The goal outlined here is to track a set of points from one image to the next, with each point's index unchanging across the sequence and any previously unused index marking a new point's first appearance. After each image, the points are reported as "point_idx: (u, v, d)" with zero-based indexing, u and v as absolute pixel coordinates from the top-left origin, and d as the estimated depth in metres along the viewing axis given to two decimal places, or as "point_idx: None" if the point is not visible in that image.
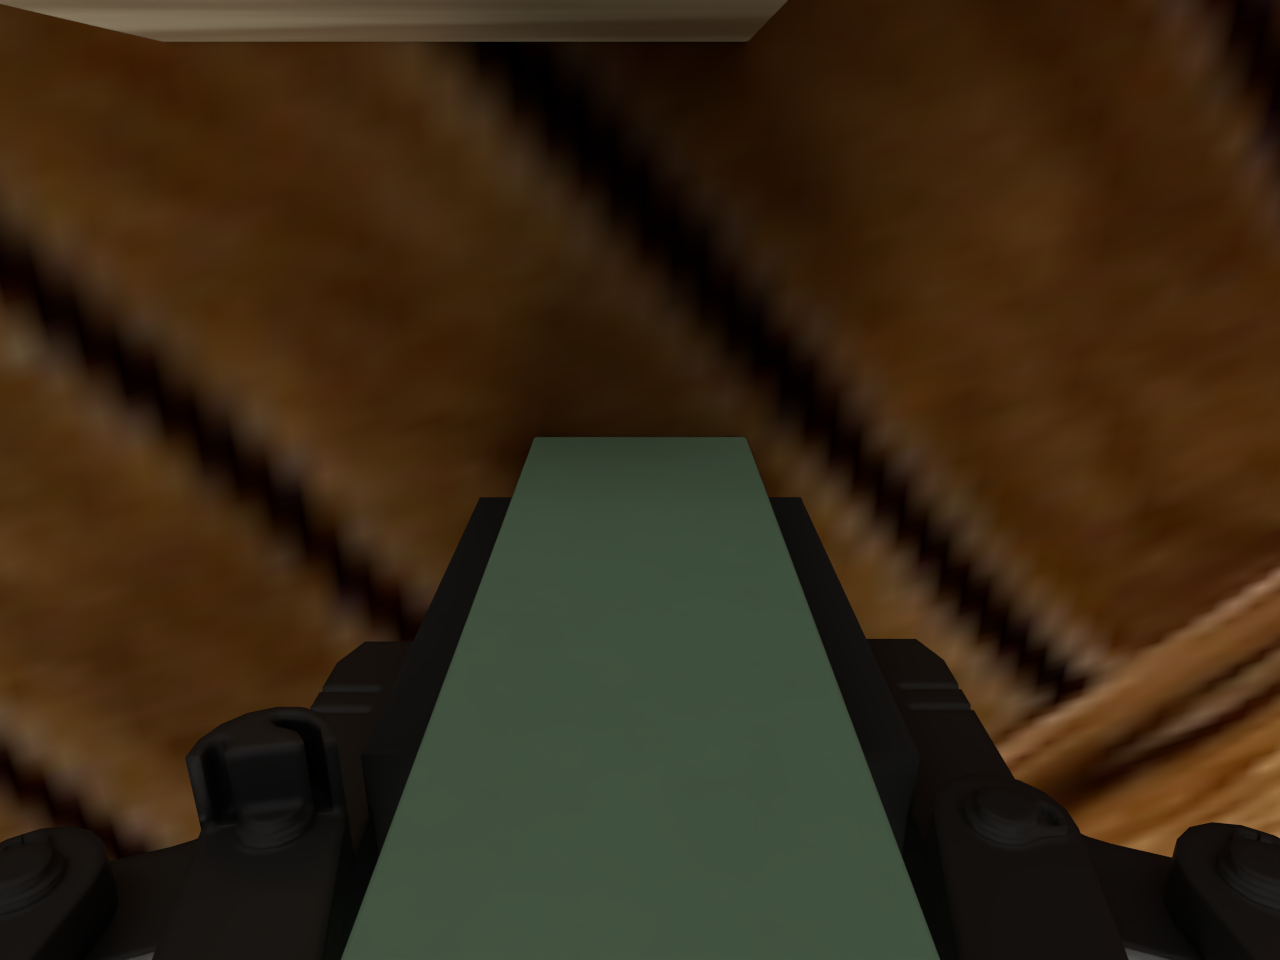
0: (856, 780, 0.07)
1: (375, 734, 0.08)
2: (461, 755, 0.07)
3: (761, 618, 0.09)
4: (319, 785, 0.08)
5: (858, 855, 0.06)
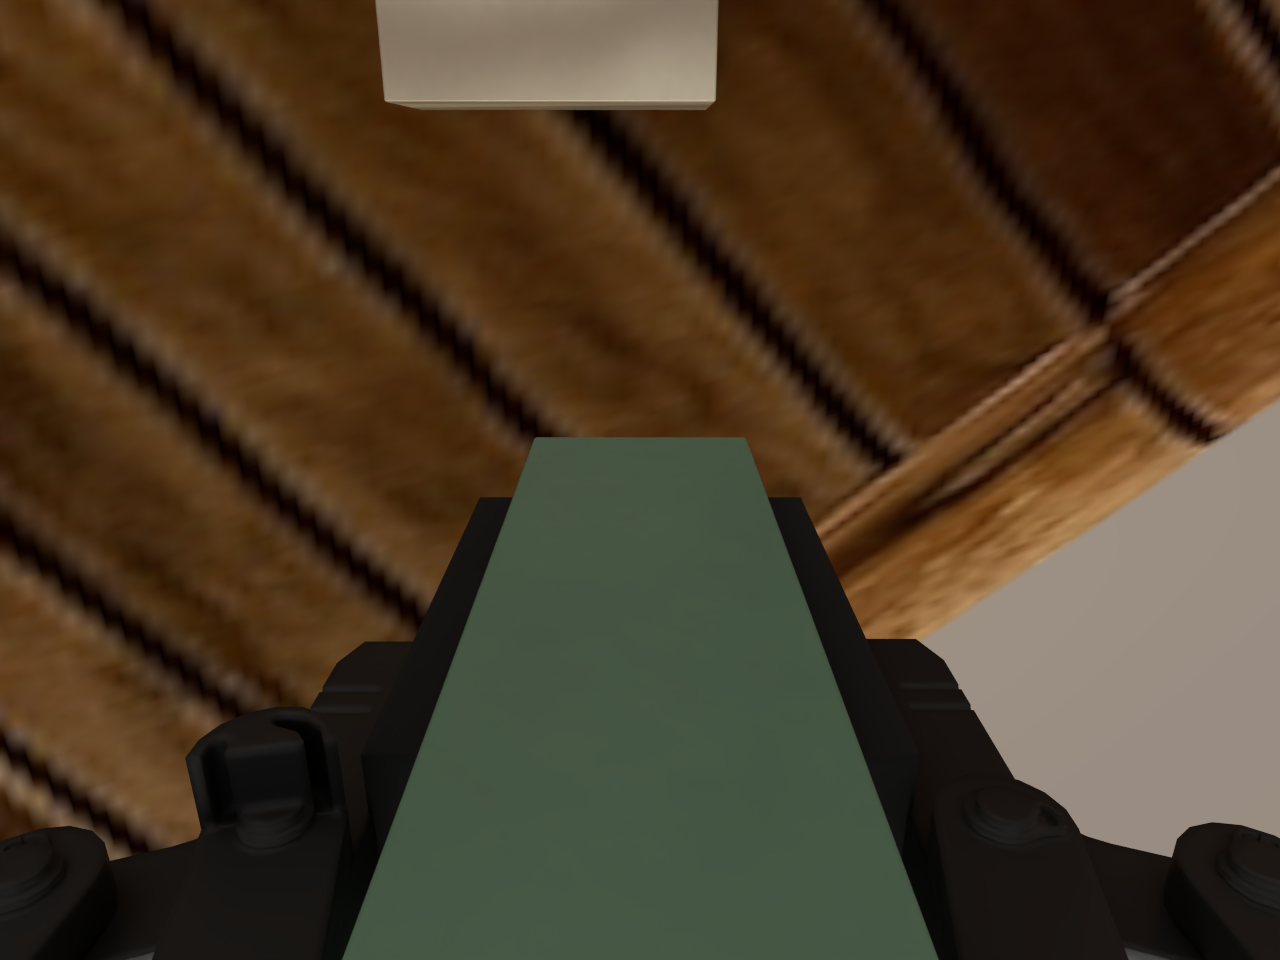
0: (855, 779, 0.07)
1: (375, 734, 0.08)
2: (462, 754, 0.07)
3: (760, 618, 0.09)
4: (318, 785, 0.08)
5: (857, 854, 0.06)
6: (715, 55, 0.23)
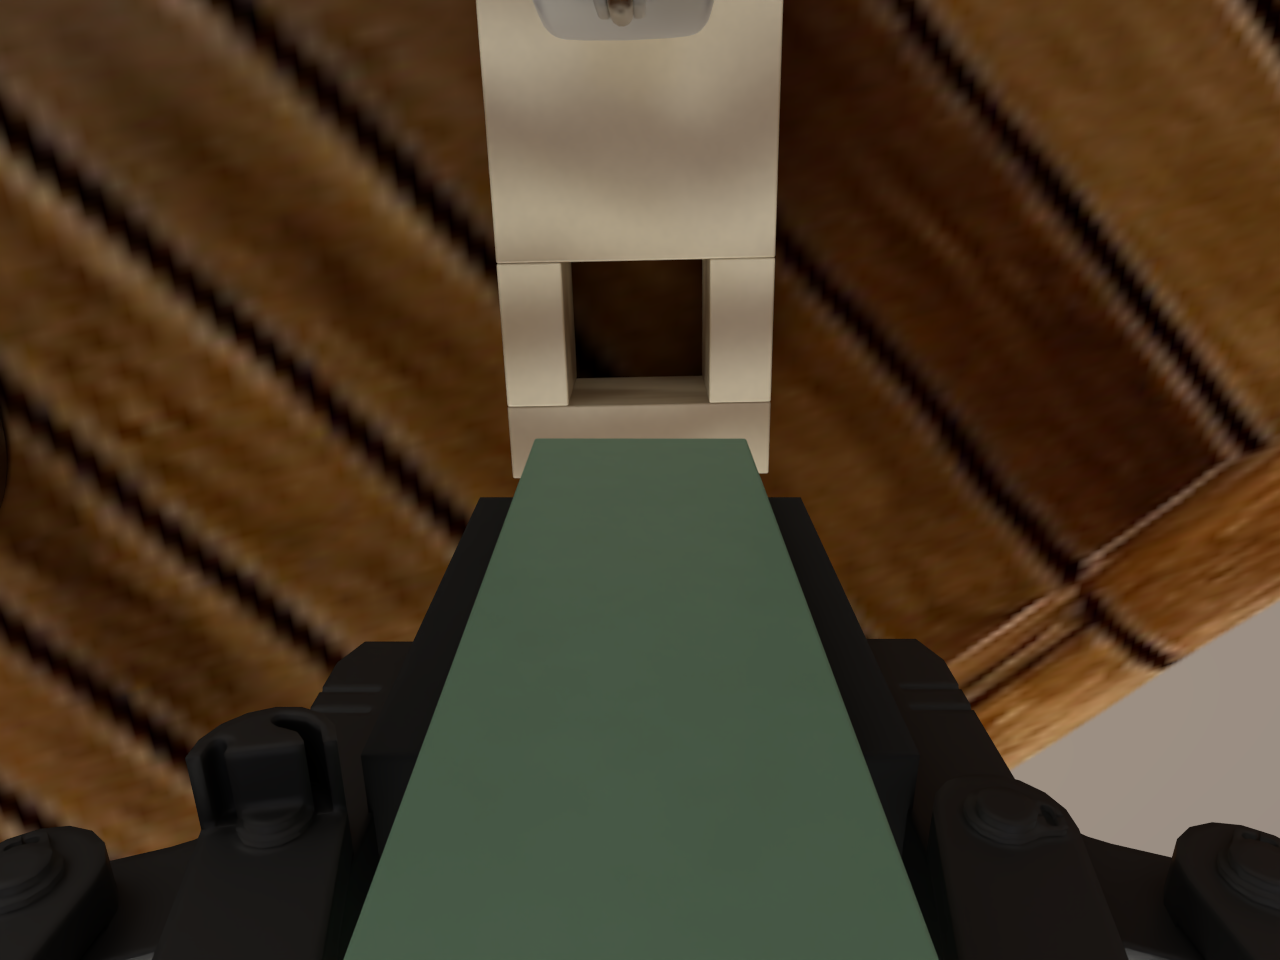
0: (856, 782, 0.07)
1: (375, 734, 0.08)
2: (462, 757, 0.07)
3: (761, 619, 0.09)
4: (319, 785, 0.08)
5: (858, 857, 0.06)
6: (768, 443, 0.30)
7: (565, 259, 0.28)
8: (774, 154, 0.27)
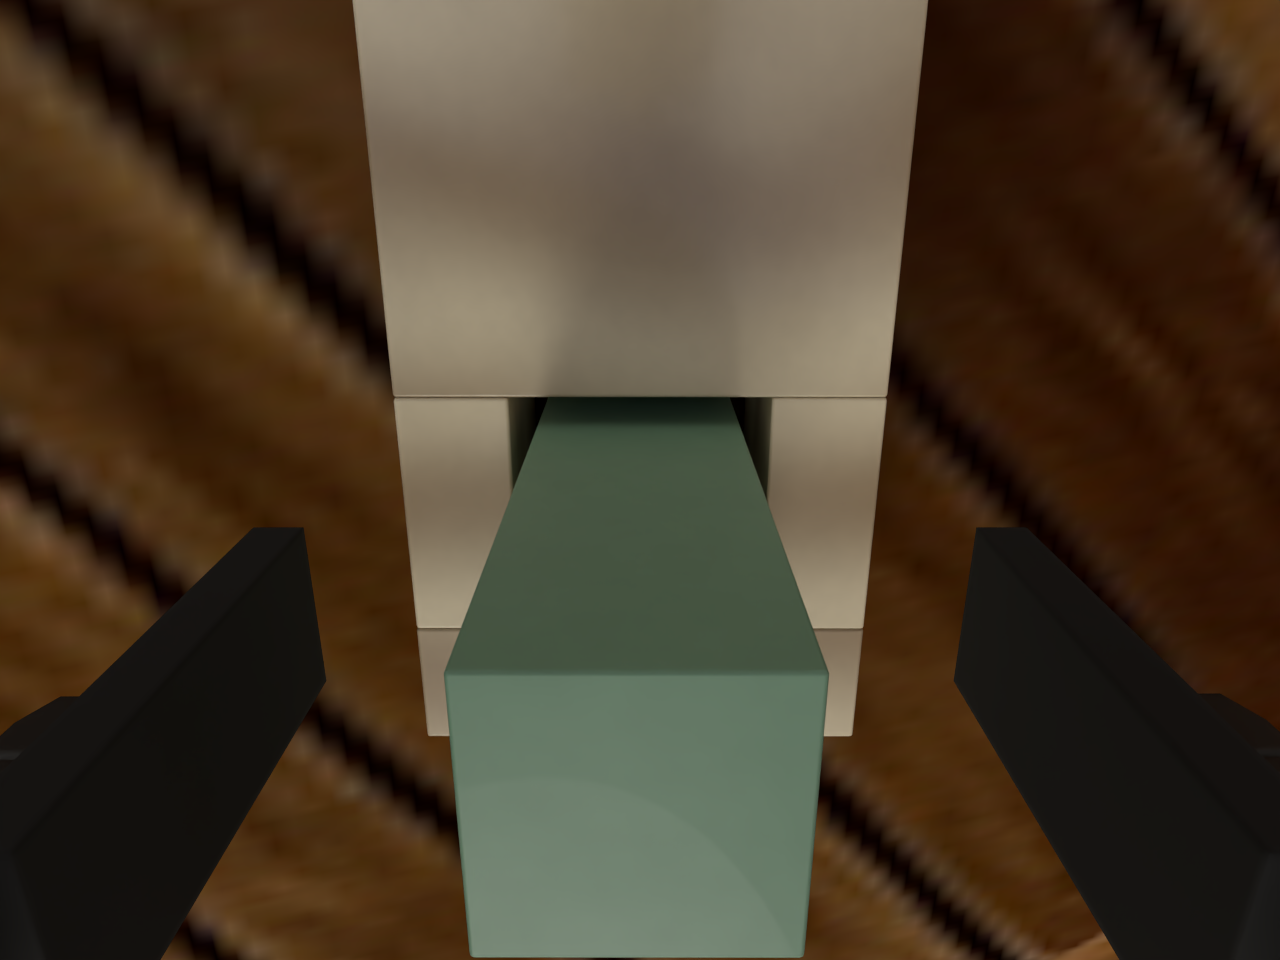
0: (772, 545, 0.11)
1: None
2: (524, 535, 0.12)
3: (722, 474, 0.14)
4: None
5: (767, 573, 0.10)
6: (855, 691, 0.18)
7: (515, 393, 0.16)
8: (899, 219, 0.15)
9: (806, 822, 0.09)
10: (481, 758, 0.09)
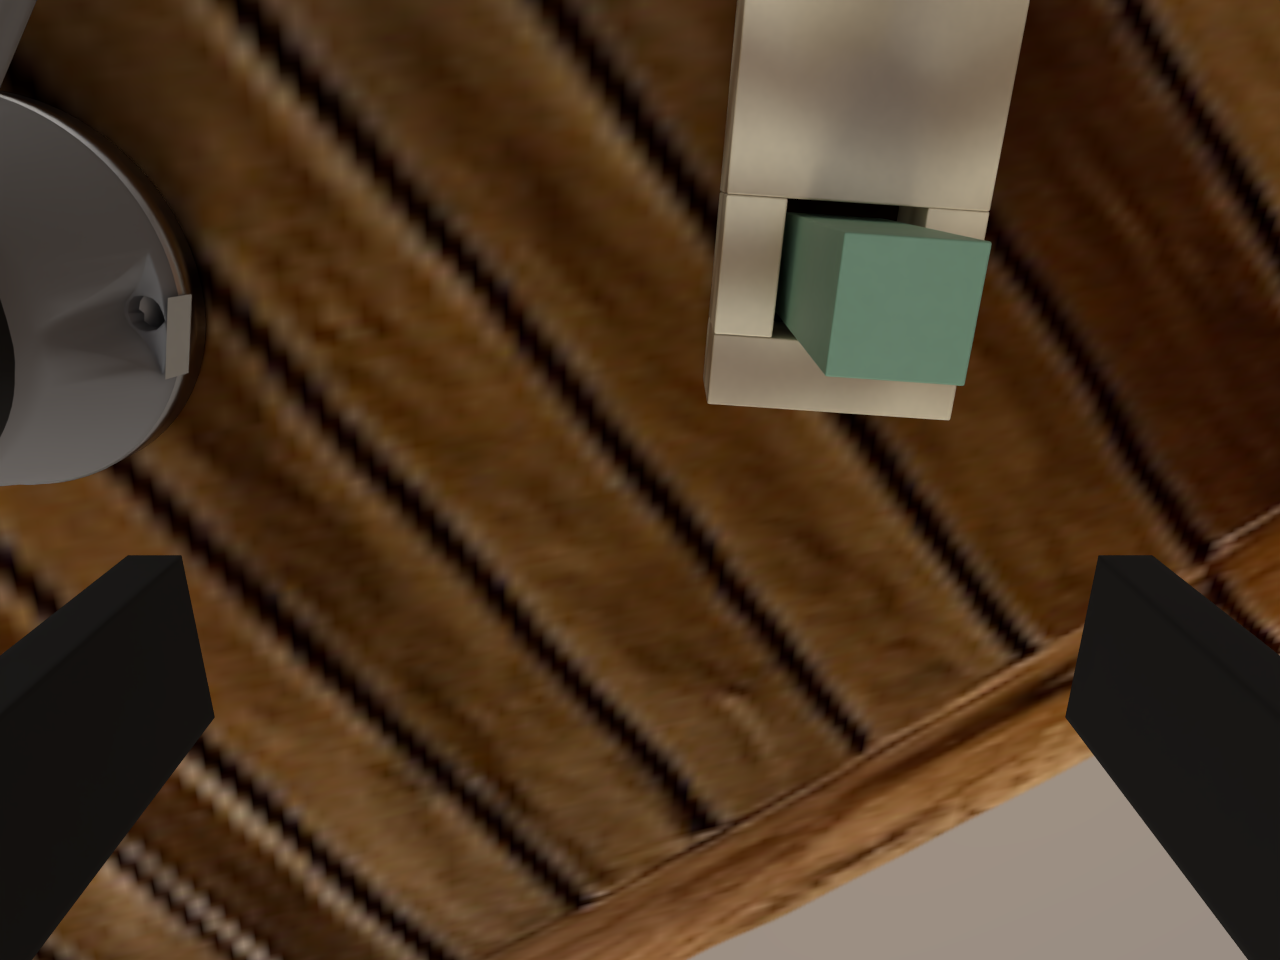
0: (951, 233, 0.25)
1: None
2: (837, 225, 0.25)
3: (912, 227, 0.28)
4: None
5: (954, 235, 0.24)
6: (954, 391, 0.32)
7: (792, 195, 0.30)
8: (1005, 113, 0.29)
9: (974, 313, 0.23)
10: (851, 273, 0.23)
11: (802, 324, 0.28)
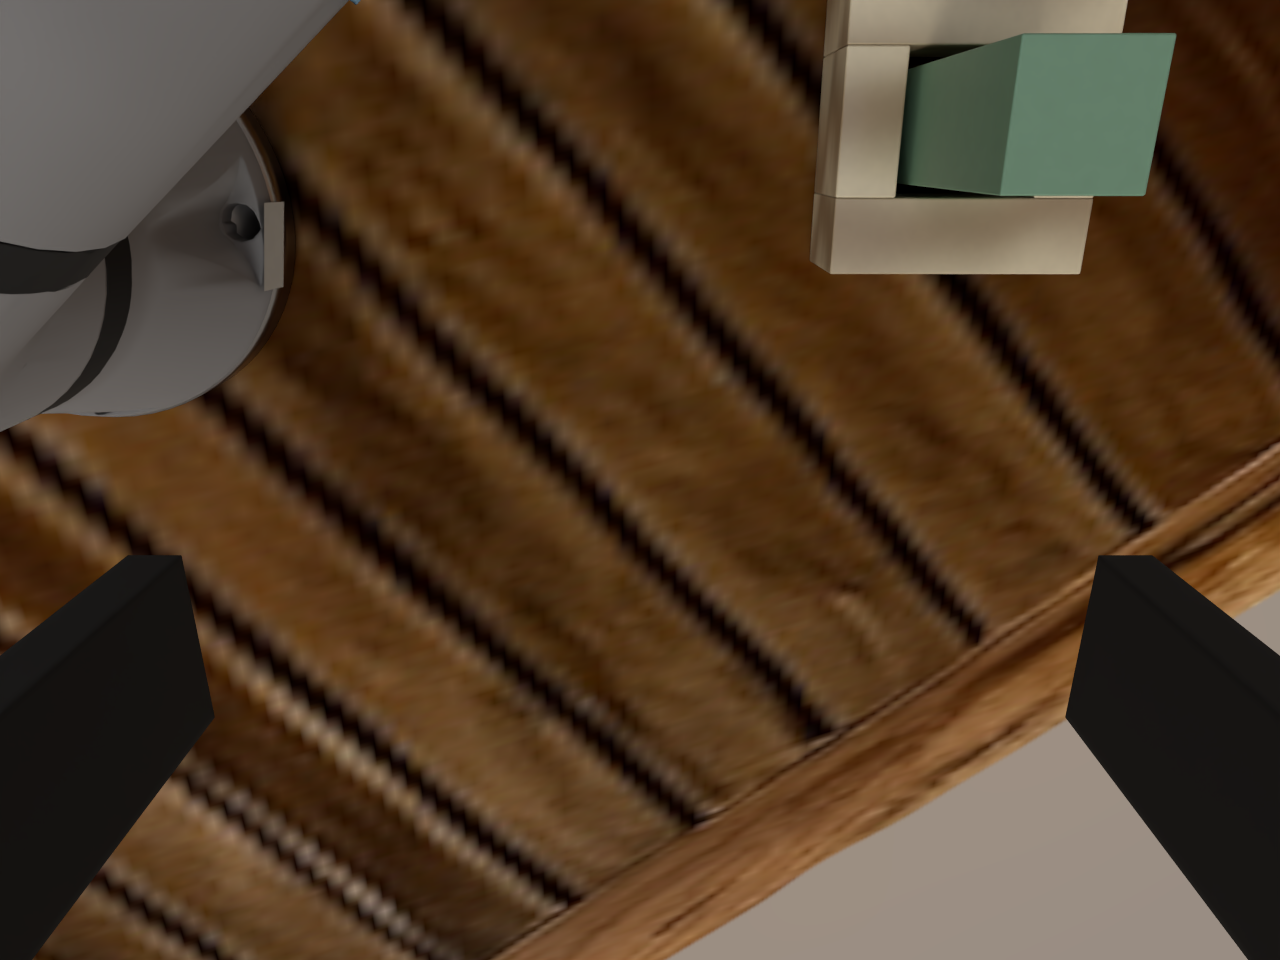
0: None
1: None
2: None
3: None
4: None
5: None
6: (1085, 241, 0.31)
7: (915, 41, 0.29)
8: None
9: (1157, 114, 0.22)
10: (1029, 78, 0.22)
11: (944, 166, 0.27)
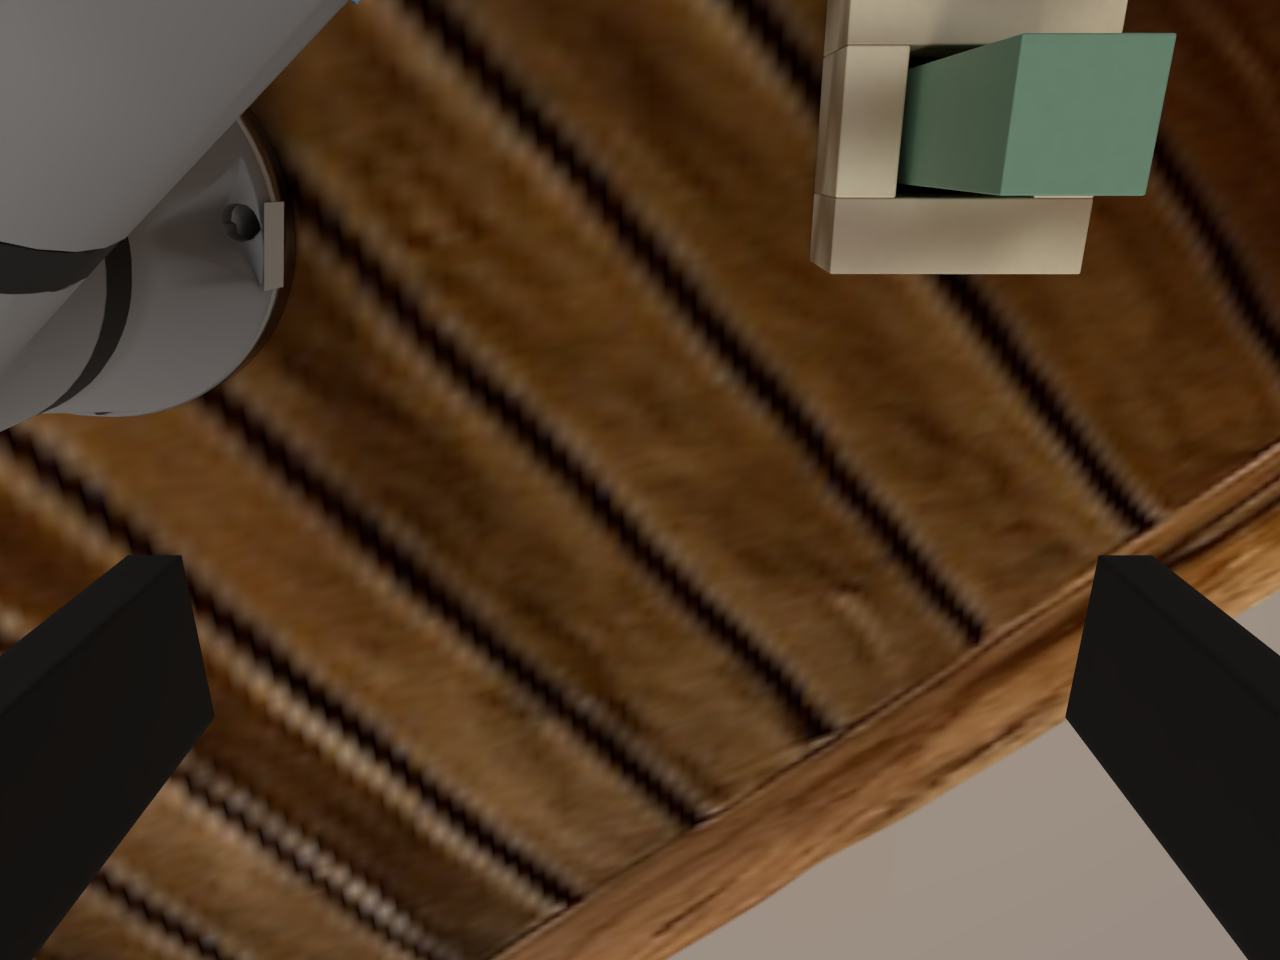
0: None
1: None
2: None
3: None
4: None
5: None
6: (1085, 241, 0.31)
7: (915, 41, 0.29)
8: None
9: (1157, 114, 0.22)
10: (1029, 78, 0.22)
11: (944, 166, 0.27)
